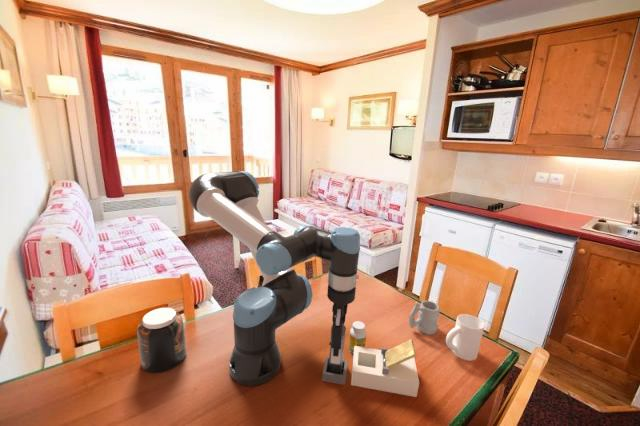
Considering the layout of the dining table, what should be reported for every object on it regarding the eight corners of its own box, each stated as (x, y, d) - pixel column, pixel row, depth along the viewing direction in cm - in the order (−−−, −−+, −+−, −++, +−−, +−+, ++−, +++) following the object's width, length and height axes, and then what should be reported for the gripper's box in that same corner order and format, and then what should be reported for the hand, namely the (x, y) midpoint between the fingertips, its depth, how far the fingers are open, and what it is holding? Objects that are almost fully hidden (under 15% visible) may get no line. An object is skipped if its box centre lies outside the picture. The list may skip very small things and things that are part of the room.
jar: (152, 380, 78) (146, 335, 74) (135, 359, 85) (128, 316, 81) (193, 356, 88) (189, 314, 84) (174, 339, 94) (170, 299, 90)
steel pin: (327, 377, 82) (330, 331, 78) (329, 367, 86) (332, 322, 82) (340, 380, 82) (345, 333, 77) (342, 369, 86) (346, 324, 81)
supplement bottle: (357, 341, 97) (359, 317, 95) (368, 351, 93) (370, 326, 91) (345, 347, 94) (347, 322, 92) (355, 358, 90) (358, 332, 88)
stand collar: (322, 380, 81) (322, 373, 81) (325, 363, 88) (326, 356, 87) (345, 384, 80) (345, 377, 80) (346, 366, 87) (347, 360, 86)
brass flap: (384, 370, 80) (382, 368, 79) (383, 355, 85) (381, 352, 85) (416, 356, 77) (414, 353, 77) (412, 341, 82) (410, 338, 82)
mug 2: (435, 346, 97) (441, 316, 94) (464, 341, 100) (471, 312, 97) (451, 364, 90) (458, 332, 86) (482, 358, 93) (490, 327, 89)
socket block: (351, 385, 80) (353, 365, 78) (353, 358, 90) (354, 340, 88) (416, 397, 78) (420, 377, 76) (411, 368, 87) (414, 350, 85)
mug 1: (441, 333, 104) (447, 305, 100) (413, 338, 101) (418, 308, 97) (428, 320, 111) (433, 293, 108) (401, 324, 108) (406, 296, 104)
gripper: (354, 304, 67) (346, 383, 74) (357, 272, 84) (350, 338, 90) (323, 300, 68) (318, 378, 75) (332, 269, 85) (327, 335, 91)
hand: (336, 356), depth 82 cm, fingers closed on steel pin, 4 cm apart
